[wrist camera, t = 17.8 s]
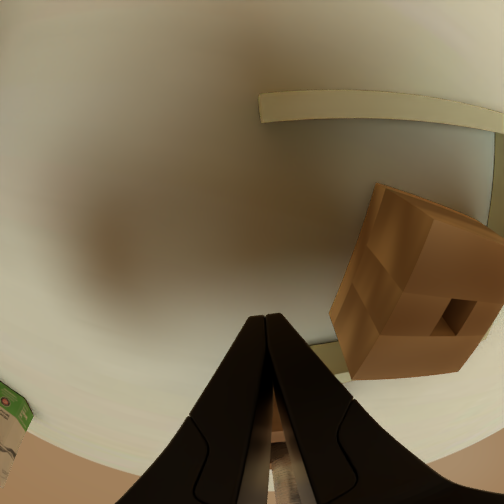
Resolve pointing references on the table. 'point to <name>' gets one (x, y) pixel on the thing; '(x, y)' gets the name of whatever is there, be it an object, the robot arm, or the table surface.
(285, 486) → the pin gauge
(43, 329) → the table surface
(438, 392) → the table surface
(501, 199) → the tray
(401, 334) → the block
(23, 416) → the ink box
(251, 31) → the table surface
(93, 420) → the table surface
